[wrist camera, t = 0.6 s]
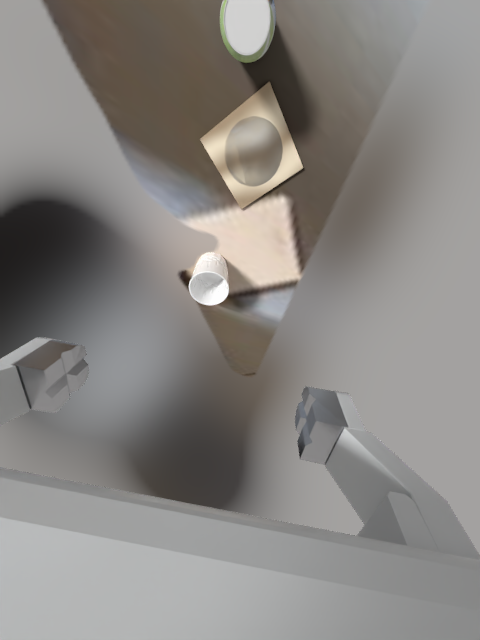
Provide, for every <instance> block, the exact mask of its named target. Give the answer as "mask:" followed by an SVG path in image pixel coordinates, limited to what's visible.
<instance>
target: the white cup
mask: <svg viewBox="0 0 480 640" xmlns="http://www.w3.org/2000/svg"><path fill="white" fill-rule="evenodd" d="M189 291H190V294H191V296H192V297H193V298H194V299H195V300H196V301H197V302H199V303H201V304H204V305H216V304H219V303H221V302H223V301H224V300H225V299H226V297H227V296H228V293H229V281H228V270H227V264H226V260H225V259H224V258H223V257H222V256H221V255H220V254H217V253H215V252H207V253H205V254H203V255H202V256H201V257H200V258H199V260H198V262H197V264H196V266H195V269H194V272H193V274H192V277H191V280H190V283H189Z"/></svg>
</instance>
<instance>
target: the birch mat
mask: <svg viewBox="0 0 480 640" xmlns="http://www.w3.org/2000/svg"><path fill="white" fill-rule="evenodd" d="M200 140H201V142H202V143H203V145H204V147H205V149H206V150H207V152H208V154H209V155H210V157H211V159H212V160H213V162H214V164H215V165H216V167H217V169H218V171H219V172H220V174H221V176H222V177H223V179H224V181H225V182H226V184H227V186H228V187H229V189H230V191H231V193H232V194H233V196H234V198H235V199H236V201H237V203H238V204H239V206H240V208H241V209H243V208H244V207H246V206H247V205H249V204H250V203H252V202H253V201H255V200H256V199H258V198H259V197H261V196H262V195H264V194H265V193H267V192H268V191H270V190H271V189H273V188H274V187H276V186H277V185H279V184H280V183H282V182H283V181H285V180H286V179H288V178H289V177H290V176H292V175H293V174H295V173H296V172H298V171H299V170H301V169H302V168H303V165H302V163H301V160H300V158H299V155H298V153H297V150H296V148H295V145H294V142H293V140H292V137H291V135H290V132H289V130H288V127H287V125H286V122H285V120H284V117H283V115H282V112H281V109H280V107H279V104H278V102H277V99H276V97H275V94H274V92H273V89H272V87H271V84H270V81H269V82H268V83H267V84H266V85H265V86H263V87H262V88H261V89H260V90H259V91H257V92H256V93H255V94H254V95H253V96H251V97H250V98H249V99H248V100H247V101H245V102H244V103H243V104H242V105H241V106H239V107H238V108H237V109H236V110H235V111H233V112H232V113H231V114H230V115H229V116H227V117H226V118H225V119H224V120H223V121H221V122H220V123H219V124H218V125H217V126H215V127H214V128H213V129H212V130H211V131H209V132H208V133H207V134H206V135H205V136H203V137H202V138H201V139H200Z"/></svg>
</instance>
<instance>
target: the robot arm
mask: <svg viewBox="0 0 480 640" xmlns="http://www.w3.org/2000/svg"><path fill="white" fill-rule="evenodd" d="M86 355H87V354H86V350H85V347H84V346H82V345H80V344H75V343H70V342H65V341H60V340H54V339H50V338H44V337H38V338H35V339H33V340H32V341H30V342H28V343H27V344H25V345H23V346H22V347H20V348H18V349H17V350H15V351H13V352H12V353H10V354H8V355H7V356H5V357H3V358H1V359H0V426H1V425H3V424H5V423H7V422H9V421H11V420H13V419H15V418H17V417H19V416H21V415H23V414H25V413H26V412H28V411H30V409H33V410H39V411H45V412H51V413H56V412H57V411H58V410H59V409H60V408H61V407H62V406H63V405H64V404H65V403H66V402H67V401H68V400H69V399H70V393H72V392H74V391H77V390H79V389H80V388H81V387H82V386H83V385H84V384H85V382H86V380H87V377H88V374H89V367H88V364H87V363H86V361H85V360H84V357H85V356H86ZM302 399H303V401H302V402H300V403H299V404H298V406H297V410H296V416H295V426H296V431H297V432H298V433H299V435H300V436H299V438H298V448H299V456H300V459H301V460H306V461H310V462H315V463H319V464H324V465H325V467H326V468H327V470H328V471H329V473H330V474H331V476H332V477H333V479H334V480H335V482H336V483H337V485H338V486H339V488H340V489H341V491H342V492H343V494H344V495H345V496H346V498H347V499H348V501H349V503H350V504H351V505H352V507H353V508H354V510H355V511H356V513H357V514H358V516H359V517H360V519H361V520H362V522H363V523H364V527H363V528H362V530H361V531H360V532H359V534H358V535H357V536H355V535H350V534H344V533H339V532H334V531H329V530H324V529H319V528H313V527H308V526H303V525H298V524H293V523H287V522H282V521H277V520H272V519H267V518H262V517H256V516H251V515H246V514H241V513H236V512H231V511H225V510H220V509H215V508H210V507H205V506H199V505H194V504H189V503H184V502H179V501H174V500H168V499H163V498H158V497H153V496H147V495H142V494H137V493H132V492H127V491H121V490H117V489H111V488H106V487H101V486H96V485H90V484H85V483H80V482H74V481H70V480H64V479H59V478H54V477H48V476H44V475H39V474H33V473H28V472H22V471H18V470H13V469H7V468H2V467H0V640H480V555H479V554H478V552H477V550H476V548H475V547H474V545H473V543H472V542H471V540H470V539H469V537H468V535H467V533H466V532H465V530H464V528H463V527H462V525H461V524H460V522H459V521H458V518H457V517H456V515H455V514H454V512H453V510H452V509H451V507H450V505H449V504H448V502H447V501H446V500H445V499H444V498H443V497H442V496H441V495H440V494H439V493H437V492H436V491H435V490H434V489H433V488H432V487H431V486H430V485H429V484H428V483H426V482H425V481H424V480H423V479H422V478H421V477H420V476H419V475H418V474H416V473H415V472H414V471H413V470H412V469H411V468H410V467H409V466H408V465H407V464H406V463H404V462H403V461H402V460H401V459H400V458H399V457H398V456H397V455H395V454H394V453H393V452H392V451H391V450H390V449H389V448H388V447H387V446H386V445H385V444H383V443H382V442H381V441H380V440H379V439H378V438H377V437H376V436H375V435H373V434H372V433H371V432H368V431H366V430H365V427H364V425H363V423H362V421H361V418H360V416H359V414H358V412H357V410H356V407H355V405H354V403H353V400H352V398H351V396H350V395H349V394H348V393H344V392H338V391H330V390H325V389H319V388H313V387H307V386H306V387H305V388H304V389H303V392H302Z"/></svg>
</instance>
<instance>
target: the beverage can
mask: <svg viewBox="0 0 480 640" xmlns="http://www.w3.org/2000/svg"><path fill="white" fill-rule="evenodd" d="M275 22H276V13H275V5H274V0H223V2H222V5H221V11H220V28H221V34H222V38H223V41H224V44H225V46H226V48H227V50H228V51H229V53H230V54H231V55H232V56H233V57H234V58H235V59H237V60H238V61H240V62H244V63H250V62H254V61H256V60H258V59H260V58H261V57H262V56H263V55H264V54H265V53H266V51H267V50H268V48H269V46H270V43H271V41H272V38H273V35H274V30H275Z"/></svg>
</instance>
